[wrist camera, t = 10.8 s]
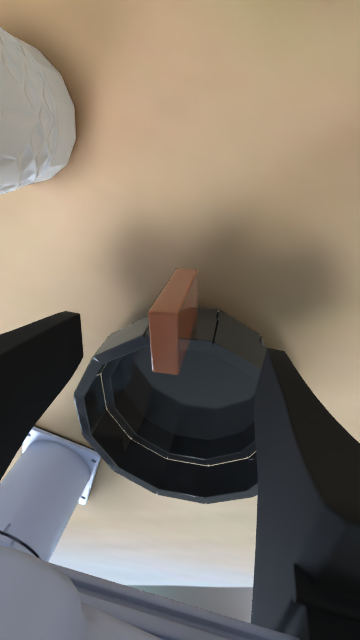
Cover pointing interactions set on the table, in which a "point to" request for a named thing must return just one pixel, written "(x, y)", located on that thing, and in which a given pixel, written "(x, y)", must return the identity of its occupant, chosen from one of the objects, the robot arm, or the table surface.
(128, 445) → the black cooking pot
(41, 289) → the table surface
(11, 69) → the white cup
